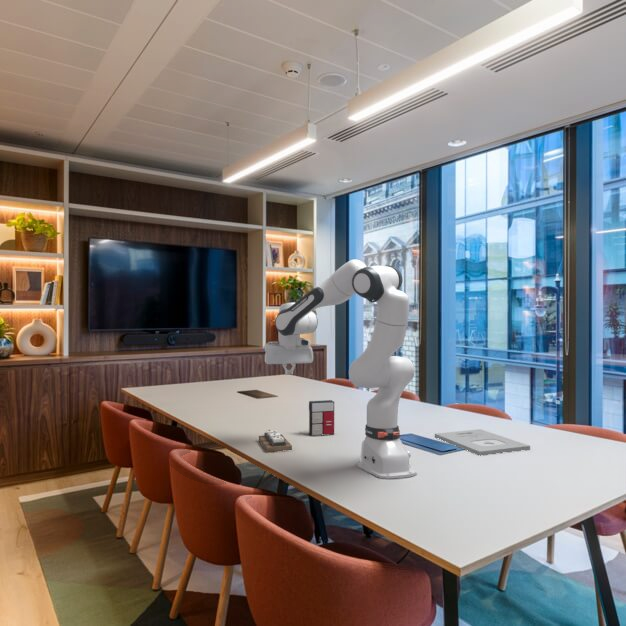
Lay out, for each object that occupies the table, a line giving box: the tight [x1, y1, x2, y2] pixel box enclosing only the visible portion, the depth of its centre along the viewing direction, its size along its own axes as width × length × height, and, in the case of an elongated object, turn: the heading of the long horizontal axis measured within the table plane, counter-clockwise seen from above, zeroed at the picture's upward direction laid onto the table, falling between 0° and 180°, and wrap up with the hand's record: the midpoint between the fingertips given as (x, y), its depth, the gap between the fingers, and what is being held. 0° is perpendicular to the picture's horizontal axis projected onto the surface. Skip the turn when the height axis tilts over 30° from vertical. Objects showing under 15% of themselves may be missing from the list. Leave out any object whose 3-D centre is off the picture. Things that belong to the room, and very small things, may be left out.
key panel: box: [258, 432, 293, 453], centre depth 204 cm, size 19×10×3 cm, turn 16°
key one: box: [269, 432, 281, 439], centre depth 204 cm, size 4×4×2 cm
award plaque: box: [434, 428, 531, 457], centre depth 208 cm, size 25×30×2 cm
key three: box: [272, 436, 284, 443], centre depth 198 cm, size 4×4×2 cm
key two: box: [265, 429, 279, 435], centre depth 210 cm, size 4×4×2 cm
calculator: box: [308, 399, 335, 436], centre depth 222 cm, size 11×4×15 cm, turn 105°
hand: (289, 374), depth 206 cm, fingers closed
